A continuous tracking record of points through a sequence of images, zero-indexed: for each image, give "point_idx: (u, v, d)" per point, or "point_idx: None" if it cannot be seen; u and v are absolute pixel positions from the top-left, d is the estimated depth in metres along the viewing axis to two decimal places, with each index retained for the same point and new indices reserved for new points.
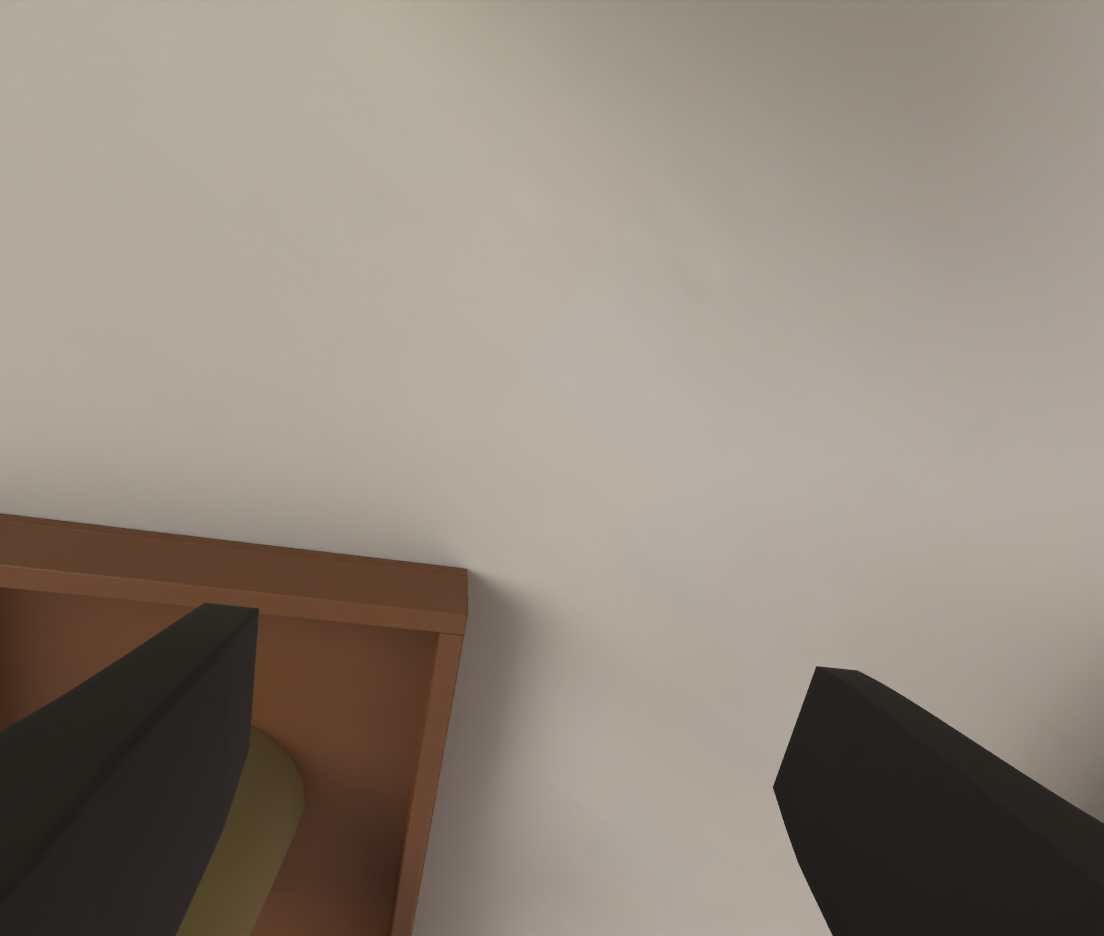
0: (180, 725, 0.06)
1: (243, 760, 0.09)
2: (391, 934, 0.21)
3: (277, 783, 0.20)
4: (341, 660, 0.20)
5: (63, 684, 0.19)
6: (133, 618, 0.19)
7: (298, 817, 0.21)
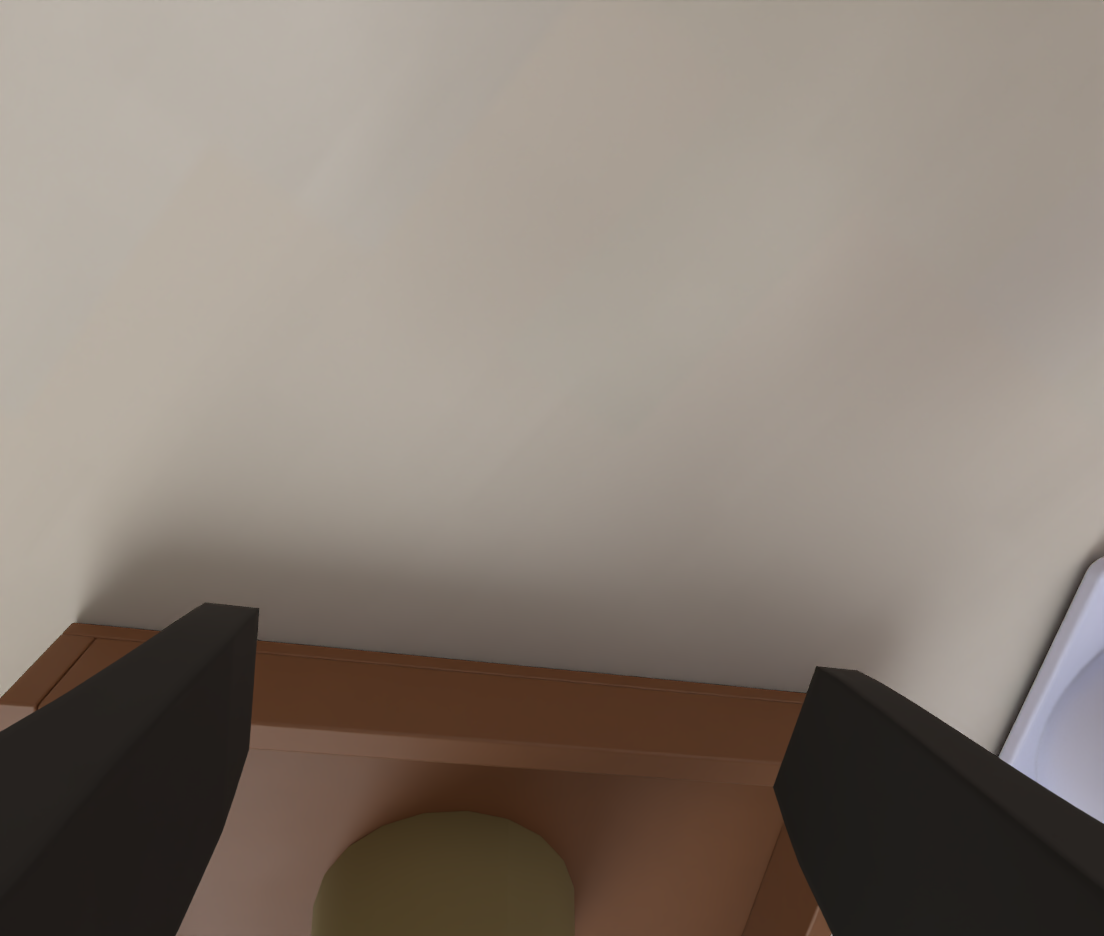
0: (180, 725, 0.06)
1: (243, 760, 0.09)
2: (628, 775, 0.13)
3: (381, 868, 0.15)
4: None
5: None
6: None
7: (463, 833, 0.15)
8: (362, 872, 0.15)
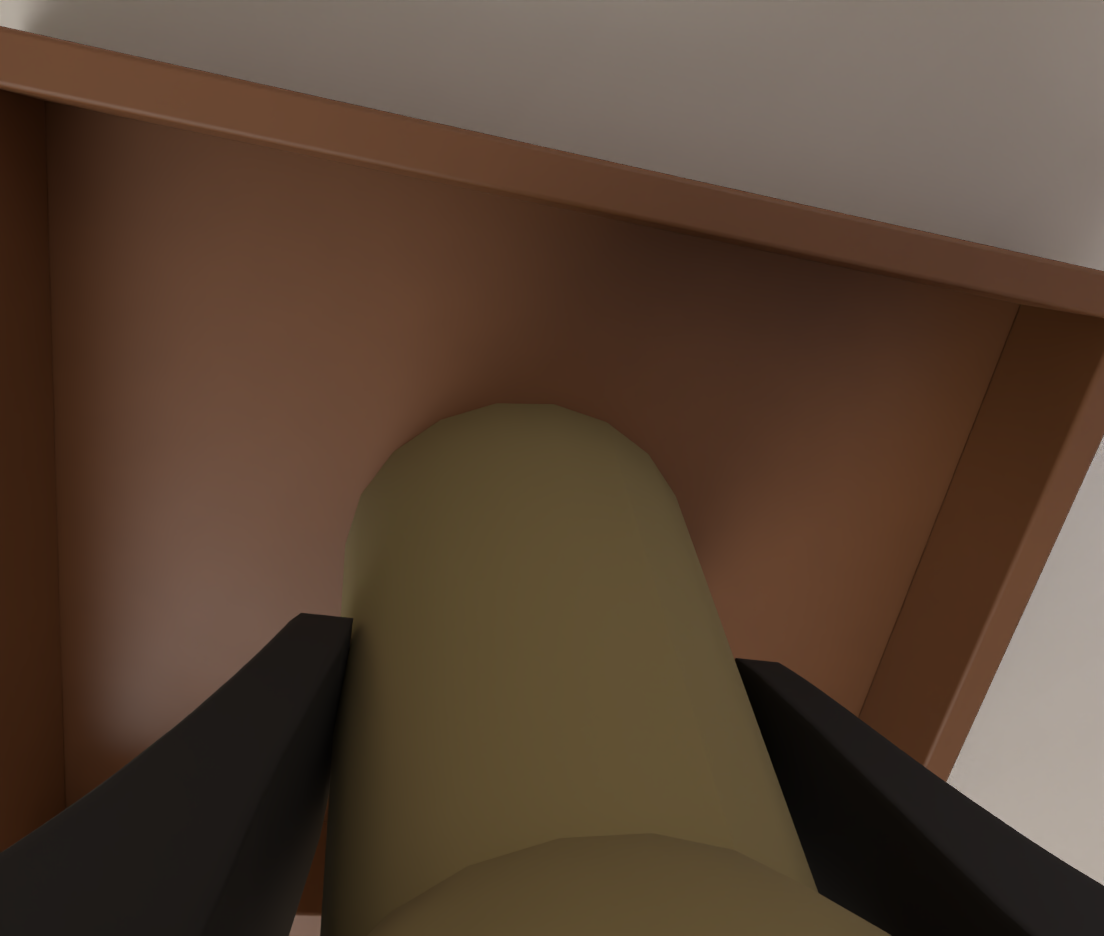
0: (307, 735, 0.06)
1: None
2: (805, 253, 0.09)
3: (443, 445, 0.11)
4: (229, 314, 0.11)
5: None
6: (172, 617, 0.12)
7: (552, 417, 0.11)
8: (416, 458, 0.11)
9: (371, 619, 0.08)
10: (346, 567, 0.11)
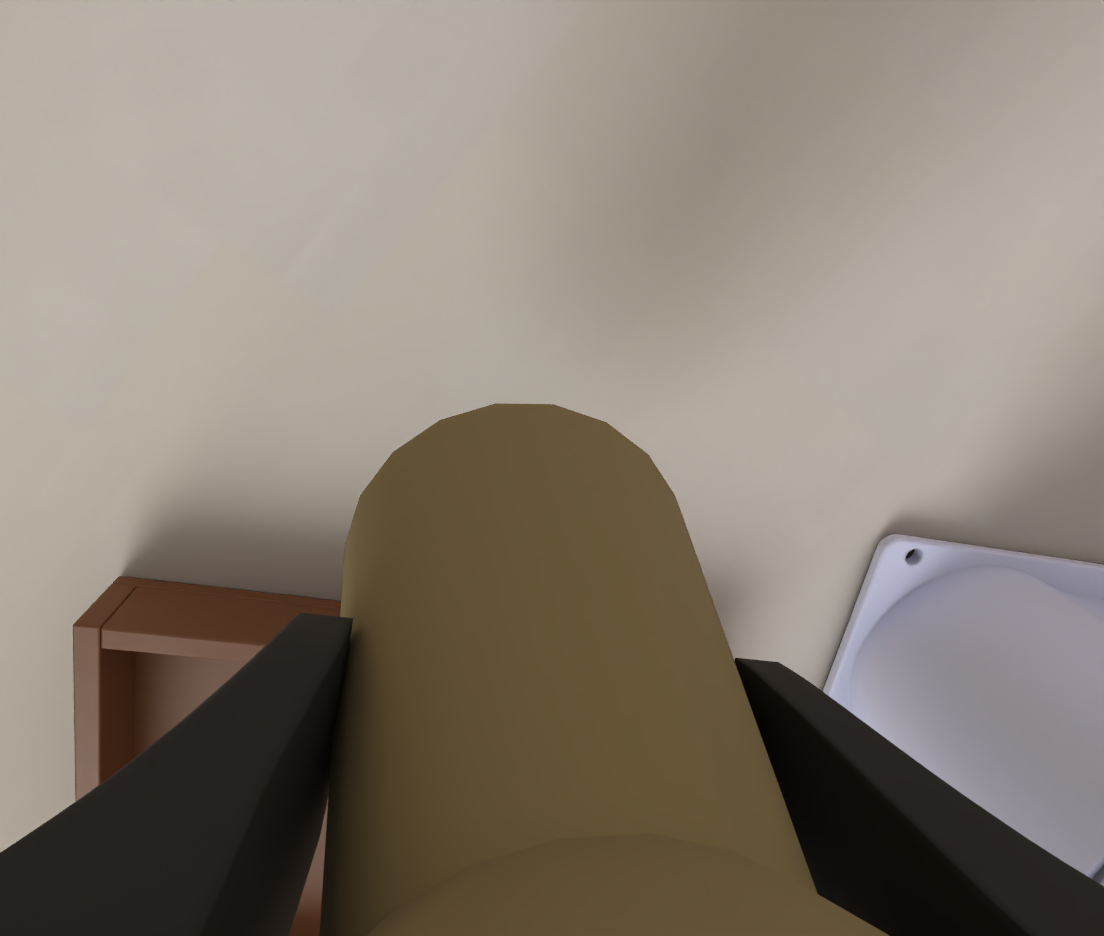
0: (307, 735, 0.06)
1: None
2: None
3: (442, 445, 0.11)
4: None
5: None
6: None
7: (552, 417, 0.11)
8: (415, 458, 0.11)
9: (370, 620, 0.08)
10: (346, 567, 0.11)
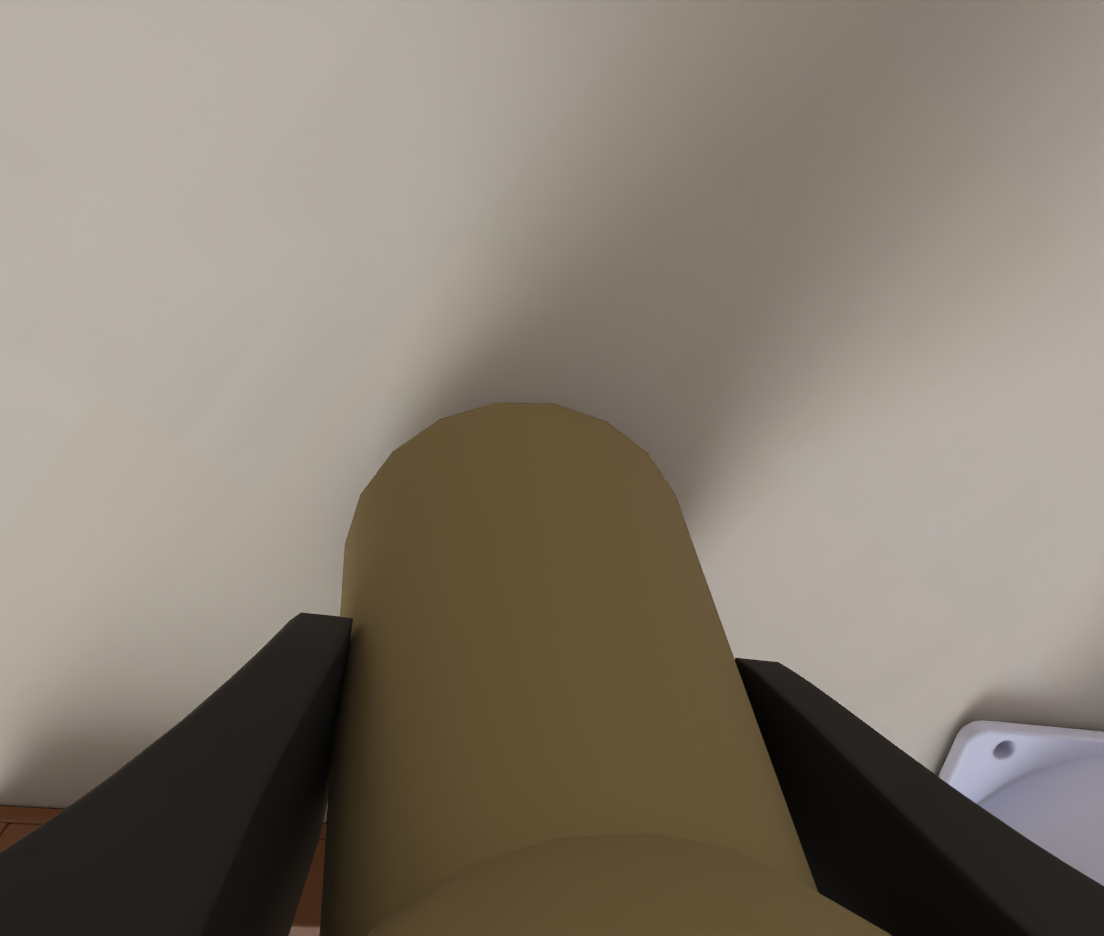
0: (307, 735, 0.06)
1: None
2: None
3: (443, 445, 0.11)
4: None
5: None
6: None
7: (552, 416, 0.11)
8: (416, 457, 0.11)
9: (370, 619, 0.08)
10: (346, 567, 0.11)
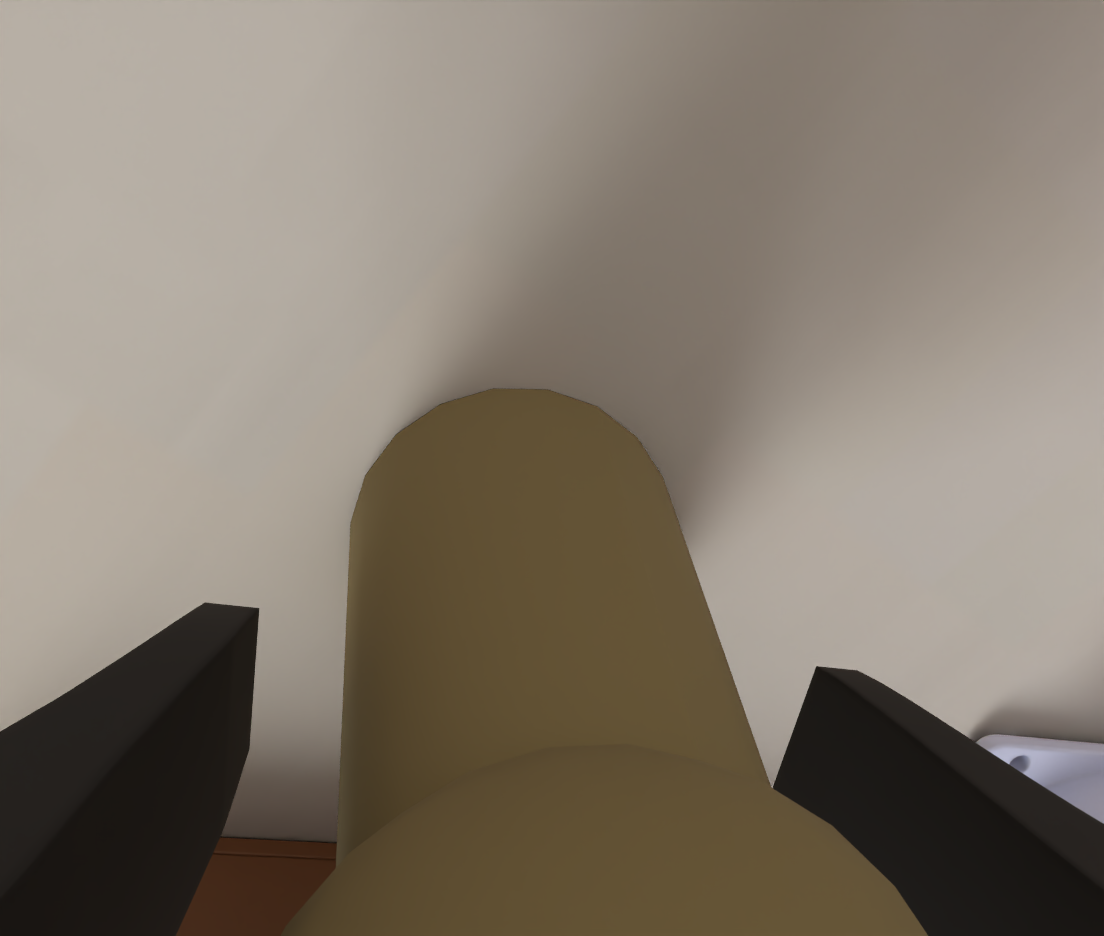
0: (180, 725, 0.06)
1: (243, 760, 0.09)
2: None
3: (443, 427, 0.11)
4: None
5: None
6: None
7: (546, 401, 0.12)
8: (418, 439, 0.12)
9: (377, 581, 0.09)
10: (352, 541, 0.12)
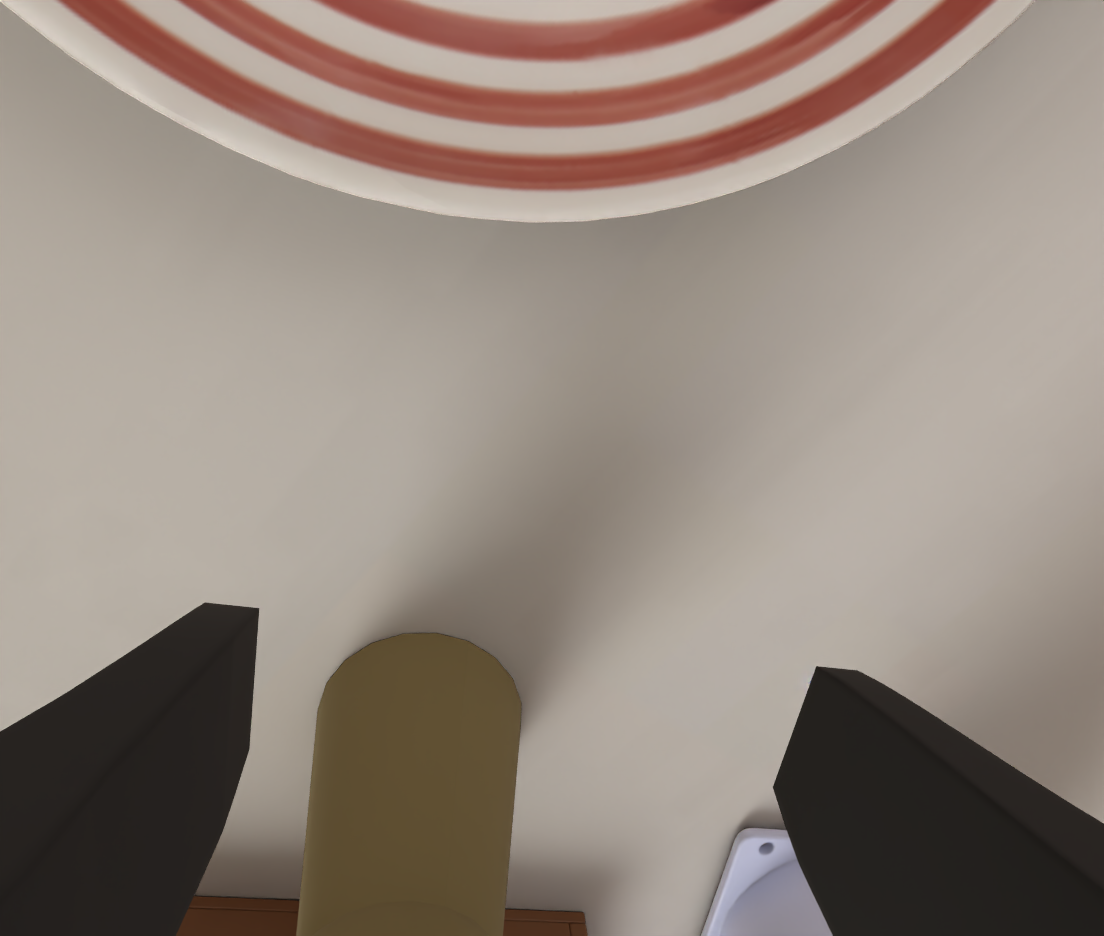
0: (180, 725, 0.06)
1: (243, 760, 0.09)
2: None
3: (370, 667, 0.19)
4: None
5: None
6: None
7: (433, 645, 0.20)
8: (355, 672, 0.20)
9: (324, 783, 0.17)
10: (316, 732, 0.20)
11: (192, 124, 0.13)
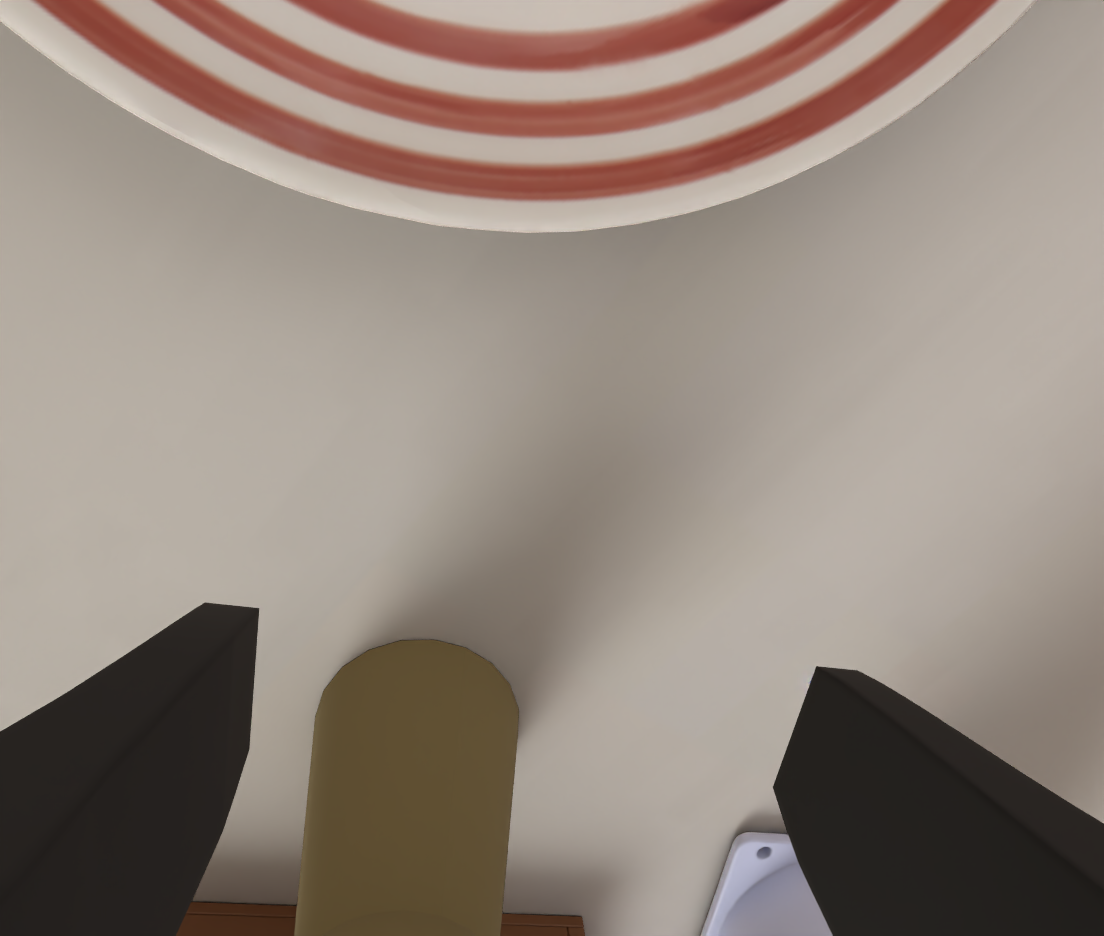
0: (180, 725, 0.06)
1: (243, 760, 0.09)
2: None
3: (367, 674, 0.20)
4: None
5: None
6: None
7: (430, 652, 0.20)
8: (353, 679, 0.20)
9: (321, 791, 0.17)
10: (314, 739, 0.20)
11: (185, 136, 0.13)
